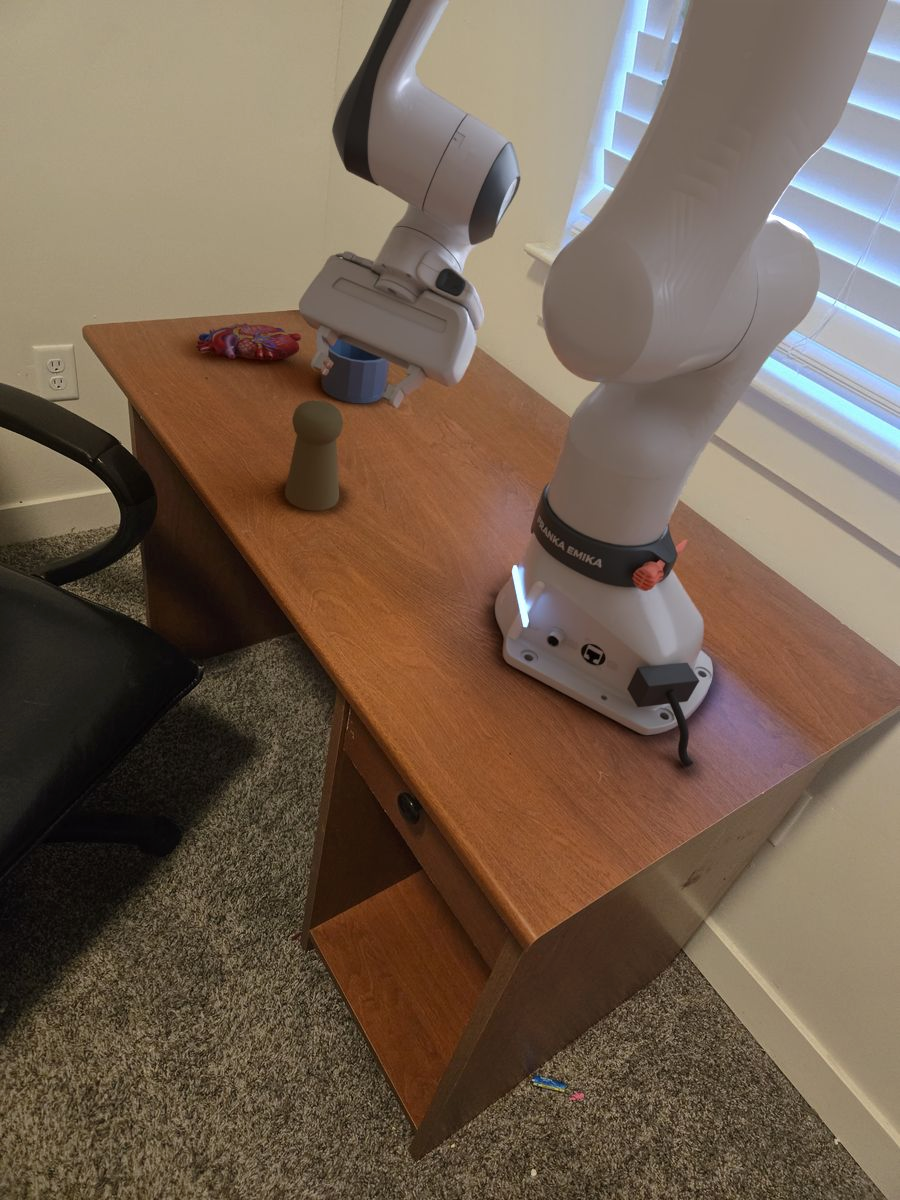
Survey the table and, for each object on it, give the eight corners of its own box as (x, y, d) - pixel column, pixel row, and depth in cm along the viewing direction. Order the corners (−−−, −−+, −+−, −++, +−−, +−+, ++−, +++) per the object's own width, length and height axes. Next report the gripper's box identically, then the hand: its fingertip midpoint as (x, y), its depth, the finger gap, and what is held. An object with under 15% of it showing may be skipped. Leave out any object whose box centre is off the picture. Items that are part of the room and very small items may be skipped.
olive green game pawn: (329, 516, 85) (338, 427, 78) (276, 502, 86) (280, 412, 78) (345, 488, 90) (355, 402, 83) (295, 474, 90) (301, 387, 83)
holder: (397, 393, 109) (403, 353, 106) (352, 409, 104) (357, 367, 100) (354, 367, 113) (358, 327, 109) (308, 381, 107) (310, 340, 103)
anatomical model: (315, 335, 108) (212, 361, 102) (316, 360, 111) (216, 386, 104) (279, 301, 114) (179, 322, 108) (281, 325, 117) (184, 347, 110)
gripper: (325, 229, 85) (264, 339, 85) (488, 293, 80) (423, 411, 79) (345, 262, 91) (288, 365, 91) (497, 324, 86) (438, 433, 85)
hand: (352, 387), depth 85 cm, fingers open, 8 cm apart
